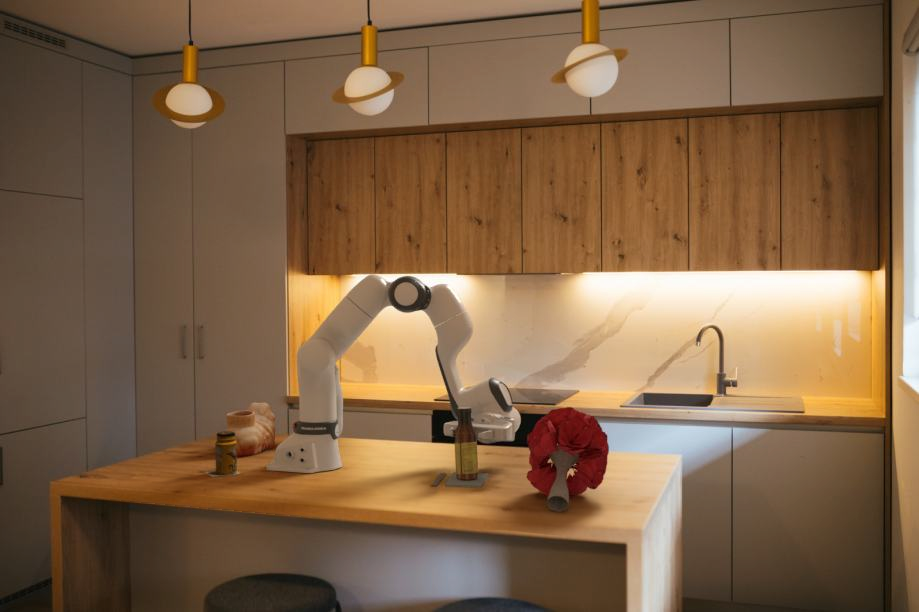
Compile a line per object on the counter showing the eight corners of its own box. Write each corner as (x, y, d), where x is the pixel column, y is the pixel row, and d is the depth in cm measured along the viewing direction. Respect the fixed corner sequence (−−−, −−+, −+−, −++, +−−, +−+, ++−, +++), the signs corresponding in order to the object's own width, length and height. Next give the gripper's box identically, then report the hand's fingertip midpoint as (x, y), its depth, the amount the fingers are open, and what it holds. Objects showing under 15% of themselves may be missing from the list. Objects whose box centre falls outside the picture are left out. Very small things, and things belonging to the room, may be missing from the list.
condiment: (241, 474, 254) (241, 433, 254) (212, 477, 250) (212, 435, 250) (233, 469, 261) (232, 429, 260) (204, 473, 256) (204, 432, 256)
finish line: (431, 486, 237) (431, 485, 237) (441, 473, 253) (441, 472, 253) (436, 486, 237) (436, 485, 237) (446, 473, 253) (446, 472, 253)
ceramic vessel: (286, 444, 302) (285, 400, 302) (252, 458, 277) (251, 411, 276) (249, 442, 305) (248, 399, 305) (212, 457, 280) (211, 410, 279)
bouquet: (609, 537, 212) (614, 455, 237) (598, 463, 200) (605, 385, 225) (522, 537, 217) (536, 457, 242) (506, 465, 206) (522, 388, 231)
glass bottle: (307, 441, 306) (307, 361, 305) (330, 437, 313) (330, 359, 313) (325, 445, 299) (324, 363, 298) (348, 441, 307) (348, 361, 306)
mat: (445, 486, 237) (445, 484, 237) (453, 474, 252) (453, 472, 252) (481, 487, 236) (481, 485, 236) (488, 475, 250) (488, 473, 250)
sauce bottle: (482, 477, 245) (481, 406, 244) (471, 482, 240) (470, 409, 239) (462, 475, 248) (461, 405, 248) (450, 479, 243) (450, 408, 242)
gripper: (456, 414, 260) (433, 420, 248) (519, 419, 250) (497, 426, 238) (456, 435, 260) (433, 442, 248) (519, 441, 250) (497, 449, 238)
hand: (465, 434), depth 243 cm, fingers open, 8 cm apart
